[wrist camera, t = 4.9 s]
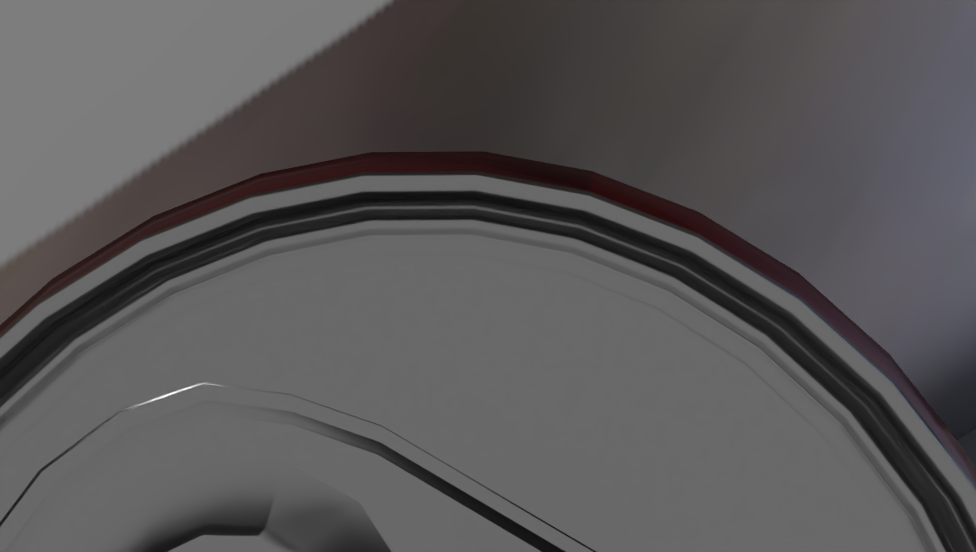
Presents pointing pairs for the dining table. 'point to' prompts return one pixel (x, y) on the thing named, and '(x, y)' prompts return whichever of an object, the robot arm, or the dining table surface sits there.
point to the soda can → (458, 380)
